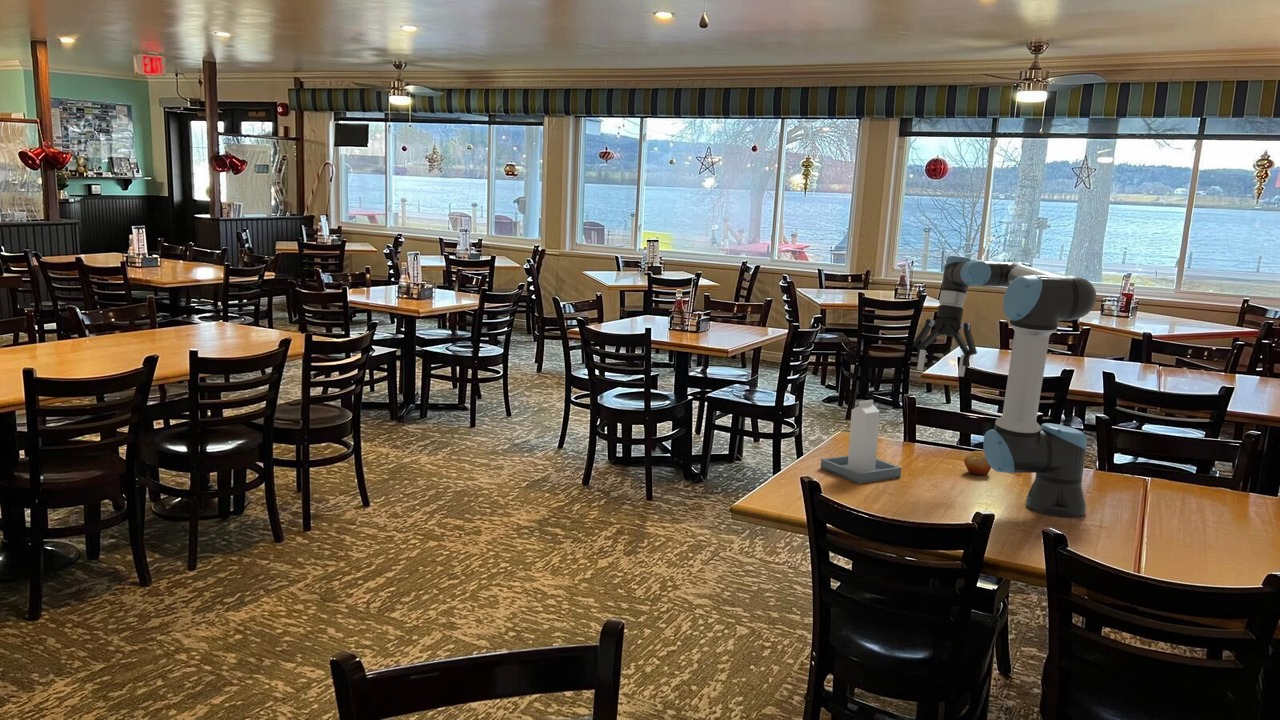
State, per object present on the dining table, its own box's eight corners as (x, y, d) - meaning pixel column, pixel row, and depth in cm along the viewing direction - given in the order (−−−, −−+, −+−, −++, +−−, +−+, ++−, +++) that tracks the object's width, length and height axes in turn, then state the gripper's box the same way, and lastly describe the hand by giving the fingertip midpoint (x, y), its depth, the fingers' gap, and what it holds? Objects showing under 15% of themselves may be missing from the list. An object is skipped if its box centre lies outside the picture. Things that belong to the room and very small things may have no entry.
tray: (900, 477, 284) (901, 467, 283) (857, 483, 276) (858, 474, 275) (862, 462, 299) (863, 453, 298) (820, 468, 291) (821, 459, 290)
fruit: (995, 467, 293) (994, 448, 288) (988, 484, 288) (988, 466, 283) (968, 462, 297) (967, 444, 293) (962, 479, 292) (960, 461, 288)
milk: (847, 469, 288) (851, 399, 284) (861, 466, 291) (865, 397, 287) (862, 474, 283) (866, 403, 279) (875, 471, 286) (880, 401, 282)
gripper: (994, 311, 286) (983, 379, 286) (919, 304, 303) (909, 368, 303) (984, 308, 280) (973, 377, 281) (908, 300, 297) (898, 366, 298)
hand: (939, 373), depth 292 cm, fingers open, 13 cm apart
